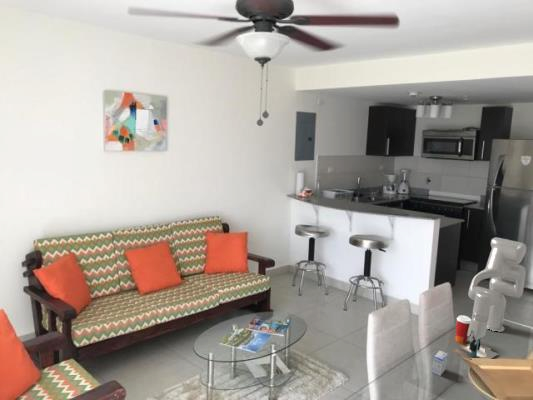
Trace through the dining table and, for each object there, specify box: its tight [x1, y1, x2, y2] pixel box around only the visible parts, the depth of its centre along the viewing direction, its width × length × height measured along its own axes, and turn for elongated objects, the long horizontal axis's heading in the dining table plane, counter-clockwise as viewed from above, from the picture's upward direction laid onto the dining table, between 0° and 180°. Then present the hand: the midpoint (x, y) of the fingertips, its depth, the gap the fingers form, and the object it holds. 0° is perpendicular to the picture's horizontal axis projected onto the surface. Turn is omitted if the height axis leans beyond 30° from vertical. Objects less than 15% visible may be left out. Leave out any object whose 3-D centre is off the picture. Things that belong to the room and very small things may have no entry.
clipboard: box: [454, 342, 492, 359], centre depth 229 cm, size 18×14×2 cm
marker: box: [471, 337, 479, 356], centre depth 223 cm, size 3×3×12 cm
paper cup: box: [454, 315, 472, 345], centre depth 240 cm, size 8×8×14 cm
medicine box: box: [430, 350, 449, 377], centre depth 209 cm, size 8×4×9 cm, turn 141°
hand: (474, 349), depth 224 cm, fingers closed on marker, 2 cm apart
